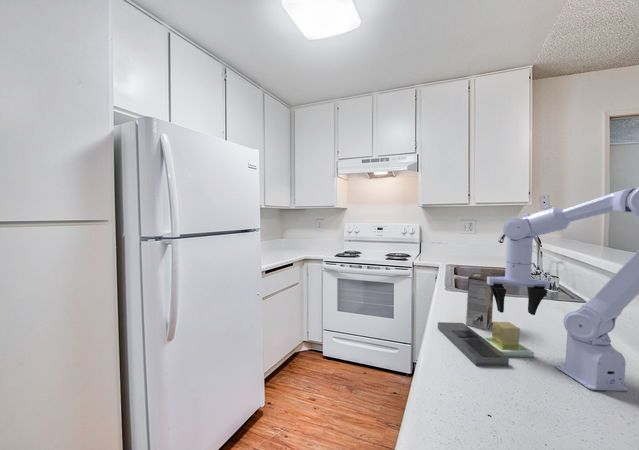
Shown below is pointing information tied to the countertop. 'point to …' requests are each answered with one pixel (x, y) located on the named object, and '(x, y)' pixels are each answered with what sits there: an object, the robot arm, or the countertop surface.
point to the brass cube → (505, 336)
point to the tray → (521, 351)
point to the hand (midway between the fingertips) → (515, 312)
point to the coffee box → (479, 301)
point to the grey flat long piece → (473, 345)
